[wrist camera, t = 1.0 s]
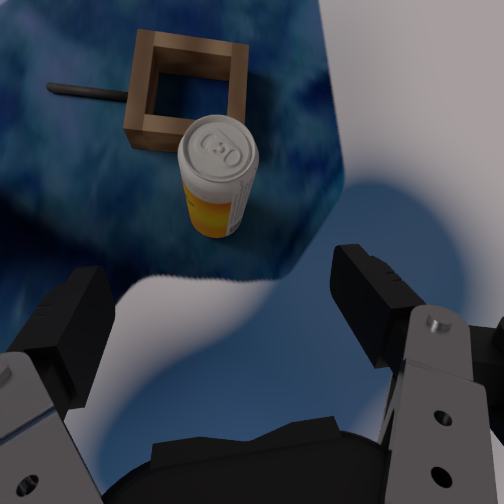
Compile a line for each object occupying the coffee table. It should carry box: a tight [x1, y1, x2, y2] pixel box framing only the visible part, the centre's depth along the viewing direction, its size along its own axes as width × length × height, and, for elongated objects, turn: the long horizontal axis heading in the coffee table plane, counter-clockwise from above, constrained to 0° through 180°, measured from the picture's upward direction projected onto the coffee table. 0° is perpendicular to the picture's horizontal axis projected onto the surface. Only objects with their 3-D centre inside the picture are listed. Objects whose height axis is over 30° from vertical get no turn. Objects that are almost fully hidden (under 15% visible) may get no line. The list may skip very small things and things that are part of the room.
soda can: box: [178, 115, 259, 238], centre depth 30 cm, size 6×6×15 cm
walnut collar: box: [46, 29, 249, 153], centre depth 37 cm, size 24×13×4 cm, turn 87°
